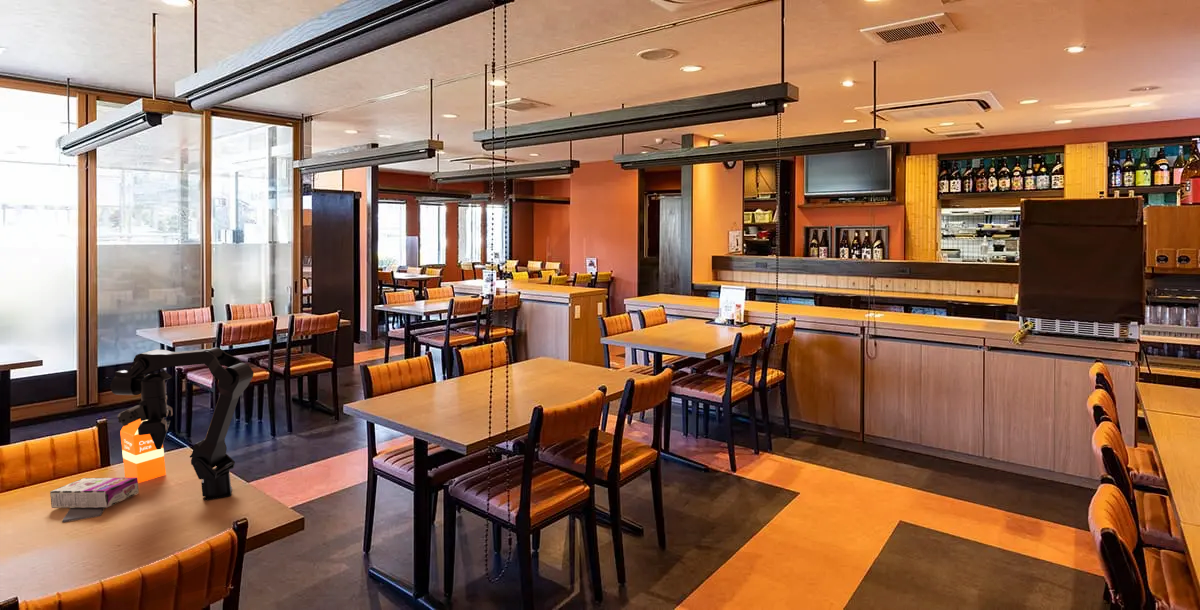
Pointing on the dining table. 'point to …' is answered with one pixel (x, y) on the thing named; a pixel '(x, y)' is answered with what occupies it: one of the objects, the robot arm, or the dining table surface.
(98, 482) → the candy bar box
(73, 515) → the mat
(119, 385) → the robot arm
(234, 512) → the dining table surface
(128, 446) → the orange juice
